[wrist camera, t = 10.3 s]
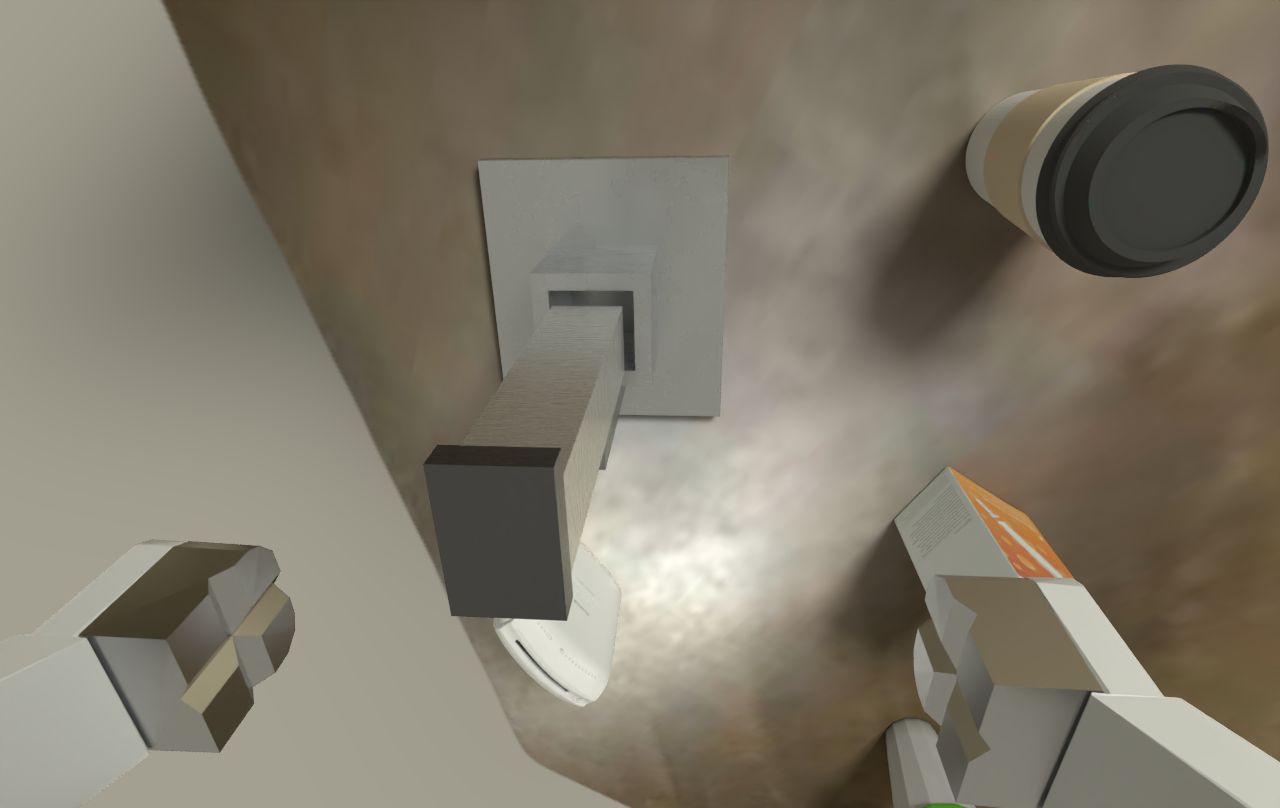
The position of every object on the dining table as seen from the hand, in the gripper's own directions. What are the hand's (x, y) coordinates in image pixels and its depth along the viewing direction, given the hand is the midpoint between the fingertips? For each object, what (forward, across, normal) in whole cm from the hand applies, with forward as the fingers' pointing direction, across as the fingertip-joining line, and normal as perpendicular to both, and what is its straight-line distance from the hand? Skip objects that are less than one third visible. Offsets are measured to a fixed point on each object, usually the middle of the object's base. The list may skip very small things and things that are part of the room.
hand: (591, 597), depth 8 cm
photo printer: (+38, +9, +33) cm, 51 cm away
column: (+29, +5, +8) cm, 31 cm away
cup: (+38, -22, +52) cm, 68 cm away
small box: (+39, -22, +27) cm, 52 cm away
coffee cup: (+39, -21, 0) cm, 45 cm away
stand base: (+39, +5, +9) cm, 40 cm away
